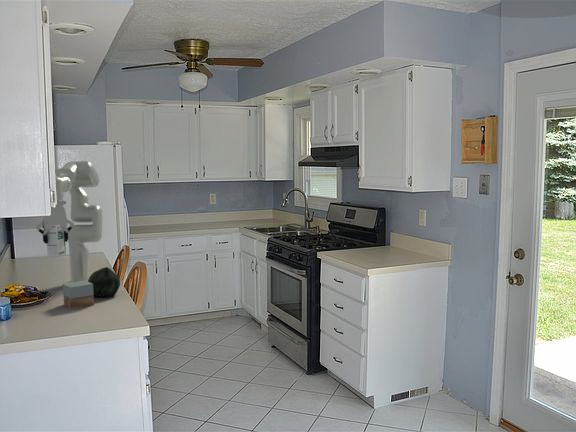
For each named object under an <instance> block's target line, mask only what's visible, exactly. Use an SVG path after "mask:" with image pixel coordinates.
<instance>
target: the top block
mask: <svg viewBox="0 0 576 432" xmlns="http://www.w3.org/2000/svg"><path fill="white" fill-rule="evenodd" d="M62 295H63V296H64V295H65V296H67V297H68V298H70V299H72V298H78V297H84V296H90V295H94V293H93V284H92V283H90V282H87V281H78V282H71V283H68V282H65V283H62Z"/></svg>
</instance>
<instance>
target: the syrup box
mask: <svg viewBox="0 0 576 432" xmlns="http://www.w3.org/2000/svg"><path fill="white" fill-rule="evenodd" d="M46 235H47V237H48V243H47V244H46V251H47V252H46V253H47V257H61V256H64V255H66V254H67V250H66V249H67V248H66V242H65V232H64V229H63V228H61V227H60V225H59V224H57V225H52V229H50V230H48V232H47V233H46Z"/></svg>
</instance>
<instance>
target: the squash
mask: <svg viewBox="0 0 576 432" xmlns="http://www.w3.org/2000/svg"><path fill="white" fill-rule="evenodd" d="M120 279H121V278H120V276H119V275H118V274H117V273H116V272H115V271H113V270H112V269H111V268H110V267H107V266H106V267H101V268H99V269H98V270H95V271H94V272H92V274H90V277H89V280H88V282H90V283H92V284H93V293H94V298H95V297H105V298H109V297H113V296H115V295H116V294H117V292H119V289H120V286H121V280H120Z"/></svg>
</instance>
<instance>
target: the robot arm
mask: <svg viewBox="0 0 576 432" xmlns="http://www.w3.org/2000/svg"><path fill="white" fill-rule="evenodd" d="M55 170H56V188H57V198H58V199H57V206H56V207H55V208H51V215H50V216H42V215H41V221H40V222H39V223H37V224H36V225H35V226H34V227H35V229H36V230H37V231H38V232H39V233H40V234H41V235H42V242H43V243H44V244H46V245H47V243H48V237H47V235H46V233H47V232H48V230H50V229H52V225H57V224H59V225H60V227H61V228H63V229H64V232H65V243H68V253H69V271H70V272H69V273H70V281H67V283H71V282H78V281H87V282H88V280H89V277H90V276H91V274H90V256H89V254H90V253H89V248H88V247H87V246H86V243H98V242H100V241H101V239H102V234H103V210H102V207H101V206H100V205H97V204H89V196H88V193H86V191H85V190H84V189H83V188H96V187H98V186H99V184H100V177H99V174H98V171H97V170H96V168H95V166H94V165H93V163H92V162H90V161H87V160H85V161H84V160H80V161H79V160H78V161H77V160H76V161H74V160H73V161H68V162H66V163H64V165H62V167H61V168H57V169H55ZM67 192H69V194H70V220H69V219H68V218H67V217H68V216H67V212H66V207H65V206H64V205H66V204H67V201H66V200H63V193H67ZM75 223H77V224H75ZM79 223H80V224H79ZM81 223H82V224H81ZM84 223H85V224H84ZM86 223H87V224H86ZM88 223H89V224H88ZM90 223H92V224H90ZM41 227H42V229H41ZM84 243H85V244H84Z"/></svg>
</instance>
